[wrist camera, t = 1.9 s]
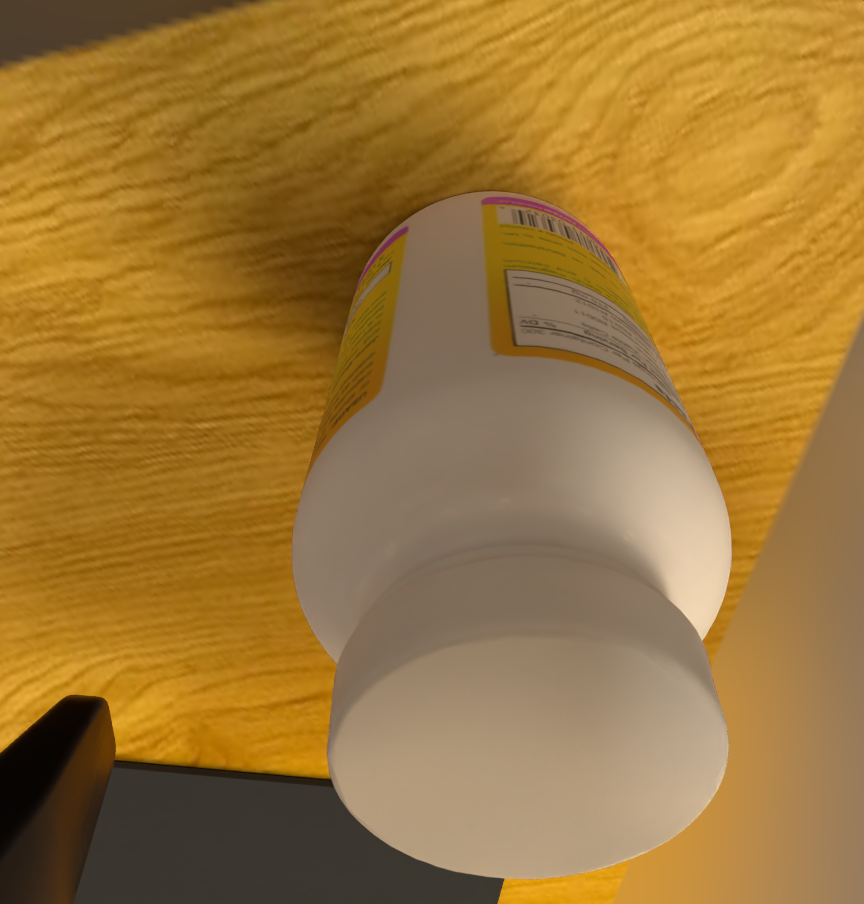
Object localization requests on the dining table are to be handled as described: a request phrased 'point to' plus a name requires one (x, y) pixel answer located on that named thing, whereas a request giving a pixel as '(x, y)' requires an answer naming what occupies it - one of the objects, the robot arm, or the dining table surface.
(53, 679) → the dining table surface
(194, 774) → the mat
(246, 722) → the dining table surface
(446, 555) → the supplement bottle
